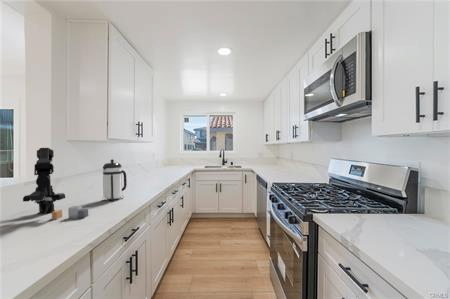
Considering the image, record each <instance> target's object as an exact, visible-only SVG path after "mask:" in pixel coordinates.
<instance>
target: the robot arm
mask: <svg viewBox="0 0 450 299" xmlns="http://www.w3.org/2000/svg"><path fill="white" fill-rule="evenodd" d="M54 153H55V152H54V149H51V148H50V147H40V148H39V149H37V150H36V158H37V160H36V163H35V164H34V176H37V178H36V180H35V183H36V185H37V187H35V191H33V192H32V193H30V194H26V195H24V196H23V198H22V202H30V201H31V202H34V203H35V204H37V205H38V212H37V215H39V214H40V215H42V214H45V215H46V214H52V212H54V211H56V209H55V204H54V203H55V202H57V201H61V200H64V199H66V194H65V193H62V192H61V193H59V192H57V193H55V191H54V190H53V185H51V181H52V180H51V175H53V173H54V168H55V167H54V164H53V163H52V162H53V158H54V155H55V154H54Z"/></svg>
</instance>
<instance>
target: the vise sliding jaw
mask: <svg viewBox="0 0 450 299" xmlns="http://www.w3.org/2000/svg"><path fill="white" fill-rule="evenodd" d="M62 217H63V210H62V209H55V211H53V212H51V220H52V221H53V220H54V221H55V220H59V219H60V218H62Z"/></svg>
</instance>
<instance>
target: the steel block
mask: <svg viewBox="0 0 450 299" xmlns="http://www.w3.org/2000/svg"><path fill="white" fill-rule="evenodd" d="M67 209H68V212H67V214H68V219H69V220H70V219H71V220H72V219H78V211H79V210H81V209H83V208H82V205H72V206H69V207H68V208H67Z"/></svg>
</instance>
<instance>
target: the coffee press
mask: <svg viewBox="0 0 450 299" xmlns="http://www.w3.org/2000/svg"><path fill="white" fill-rule="evenodd" d="M122 167H123V166H122V164H121V163H120V162H115V160H114V159H110V162H108V163H105V164H104V165H103V166H102V181H103V182H102V185H103V186H102V187H103V188H102V189H103V197H102V199H101V201H105V200H111V201H112V202H114V200H115V199H120V198H121V199H122V197H124V195H123V192H124V191H125V190H126V188H127V185H128V184H127V183H128V182H127V173H126V171H125V170H122ZM122 174H123V175H122ZM122 176H123V177H122ZM122 178H123V179H122Z"/></svg>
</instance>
